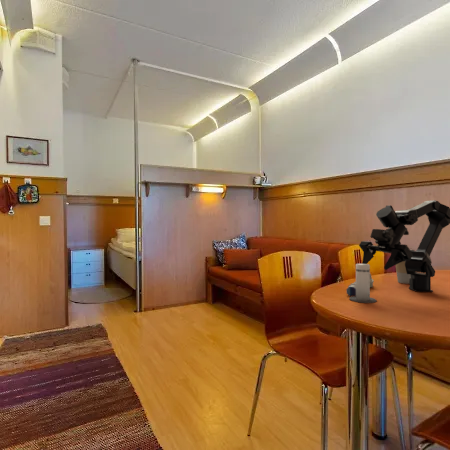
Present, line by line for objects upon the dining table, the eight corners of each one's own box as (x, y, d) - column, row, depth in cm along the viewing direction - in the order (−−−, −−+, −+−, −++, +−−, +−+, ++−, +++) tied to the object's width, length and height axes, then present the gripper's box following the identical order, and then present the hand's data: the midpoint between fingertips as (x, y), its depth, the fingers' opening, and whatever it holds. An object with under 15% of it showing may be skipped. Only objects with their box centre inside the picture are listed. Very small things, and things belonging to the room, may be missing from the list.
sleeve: (369, 298, 113) (369, 263, 112) (370, 301, 108) (370, 265, 108) (355, 297, 114) (355, 263, 114) (356, 299, 110) (355, 264, 110)
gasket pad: (370, 297, 115) (370, 296, 115) (380, 303, 106) (380, 302, 106) (346, 296, 116) (345, 295, 116) (354, 302, 107) (354, 302, 107)
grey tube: (344, 285, 119) (362, 268, 138) (345, 302, 120) (362, 283, 139) (358, 287, 116) (374, 269, 135) (359, 304, 116) (375, 284, 136)
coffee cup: (421, 284, 138) (421, 250, 138) (400, 284, 138) (399, 251, 138) (408, 280, 147) (408, 249, 147) (389, 280, 148) (388, 249, 147)
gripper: (362, 221, 124) (342, 250, 119) (407, 221, 107) (386, 255, 103) (375, 239, 128) (356, 268, 123) (421, 243, 111) (401, 276, 106)
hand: (373, 267), depth 114 cm, fingers open, 9 cm apart
